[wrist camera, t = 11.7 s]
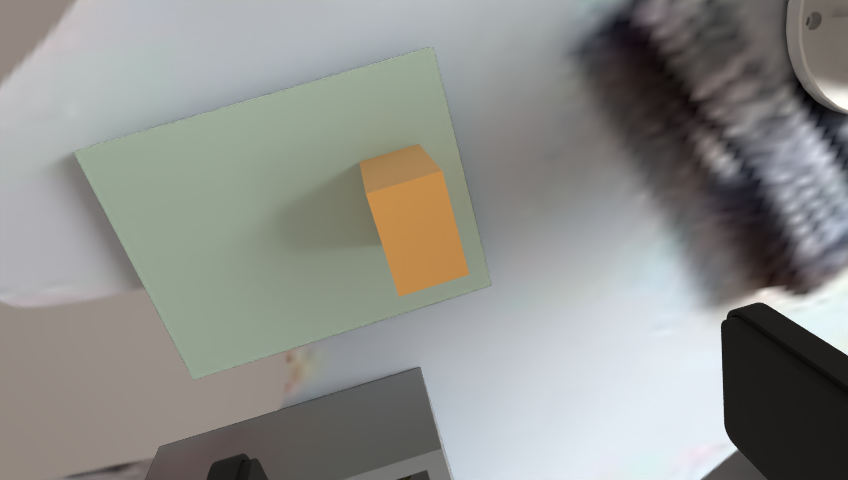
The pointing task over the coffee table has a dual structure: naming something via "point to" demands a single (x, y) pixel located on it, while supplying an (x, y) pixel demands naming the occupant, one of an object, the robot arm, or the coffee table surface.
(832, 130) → the coffee table surface
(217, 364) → the lid
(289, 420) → the tub
